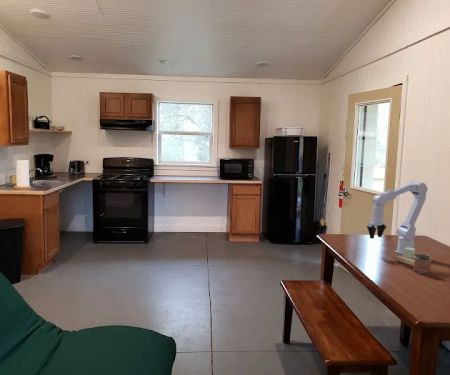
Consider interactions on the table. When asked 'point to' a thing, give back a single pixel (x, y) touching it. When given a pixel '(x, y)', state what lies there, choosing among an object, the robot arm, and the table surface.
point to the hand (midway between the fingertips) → (375, 237)
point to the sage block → (409, 252)
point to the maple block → (405, 260)
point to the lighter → (422, 264)
